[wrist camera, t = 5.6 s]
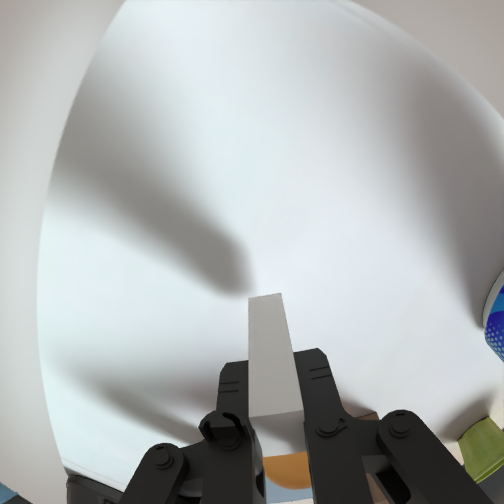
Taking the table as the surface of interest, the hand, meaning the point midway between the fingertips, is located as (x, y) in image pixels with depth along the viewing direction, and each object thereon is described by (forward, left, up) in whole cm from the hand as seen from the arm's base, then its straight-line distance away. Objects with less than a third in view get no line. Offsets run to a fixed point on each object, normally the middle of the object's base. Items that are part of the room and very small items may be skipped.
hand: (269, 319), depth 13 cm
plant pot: (+27, -31, -2) cm, 41 cm away
